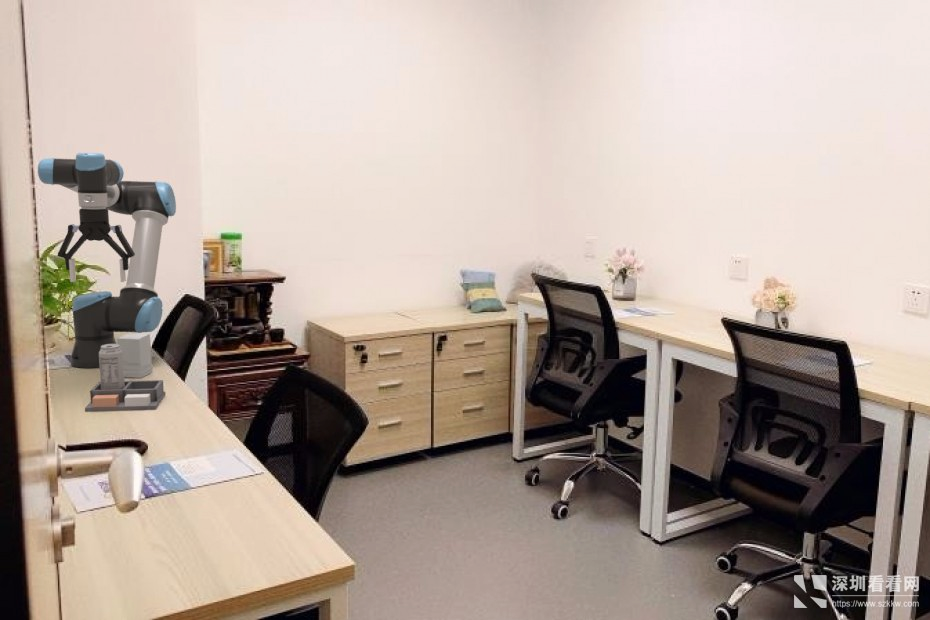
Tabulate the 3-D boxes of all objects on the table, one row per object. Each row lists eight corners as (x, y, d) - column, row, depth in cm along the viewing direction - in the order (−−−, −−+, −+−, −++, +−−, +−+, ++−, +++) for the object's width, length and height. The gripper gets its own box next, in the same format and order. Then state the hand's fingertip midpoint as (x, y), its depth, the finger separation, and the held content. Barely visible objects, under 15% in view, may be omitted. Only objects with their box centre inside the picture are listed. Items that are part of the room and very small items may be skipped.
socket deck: (98, 396, 219) (97, 381, 218) (165, 395, 222) (164, 380, 222) (85, 411, 207) (84, 395, 206) (155, 409, 210) (154, 393, 209)
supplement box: (153, 372, 245) (151, 333, 243) (141, 378, 238) (138, 339, 235) (131, 370, 246) (128, 332, 243) (118, 377, 239) (116, 337, 236)
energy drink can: (129, 395, 218) (126, 343, 215) (117, 401, 212) (114, 349, 209) (109, 393, 219) (106, 342, 216) (97, 400, 213) (93, 347, 210)
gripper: (41, 208, 213) (47, 283, 217) (136, 209, 217) (140, 283, 222) (50, 206, 220) (56, 279, 224) (142, 207, 225) (146, 279, 229)
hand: (98, 281), depth 223 cm, fingers open, 13 cm apart
